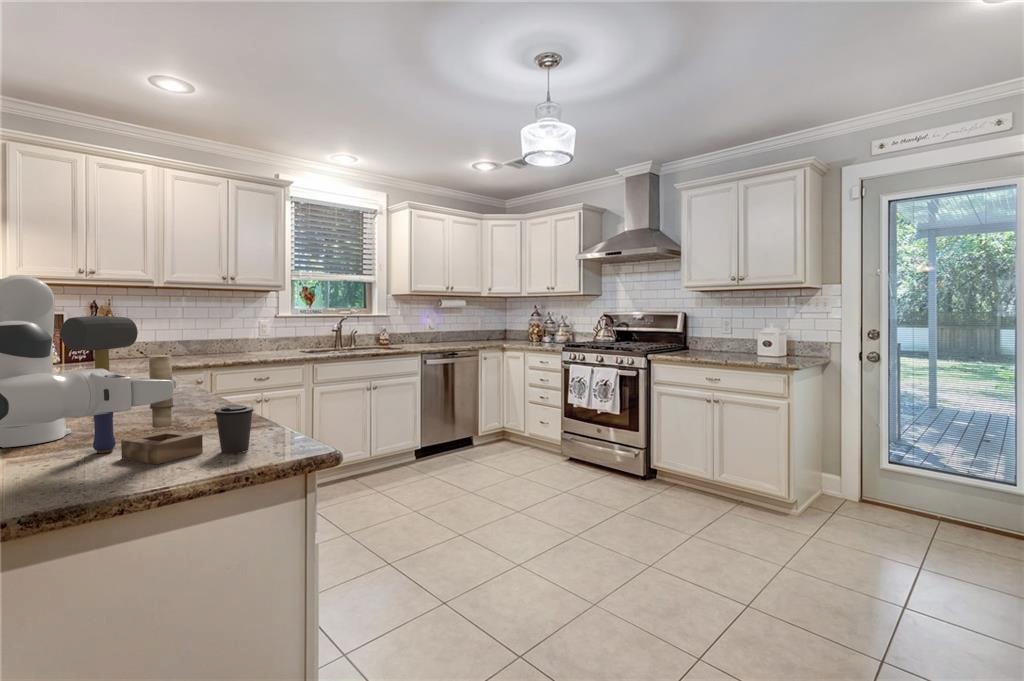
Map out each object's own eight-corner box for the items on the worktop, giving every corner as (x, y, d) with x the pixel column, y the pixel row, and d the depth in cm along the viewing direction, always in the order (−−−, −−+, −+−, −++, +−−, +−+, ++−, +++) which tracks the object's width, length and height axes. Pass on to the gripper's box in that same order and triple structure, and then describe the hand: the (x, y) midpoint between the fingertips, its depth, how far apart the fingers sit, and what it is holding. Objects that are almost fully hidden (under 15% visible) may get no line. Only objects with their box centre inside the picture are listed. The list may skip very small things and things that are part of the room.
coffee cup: (212, 457, 111) (211, 410, 110) (215, 448, 118) (214, 404, 118) (254, 453, 114) (254, 408, 114) (255, 444, 122) (254, 402, 121)
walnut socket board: (121, 458, 109) (121, 440, 109) (168, 447, 118) (168, 430, 118) (157, 464, 105) (156, 445, 105) (202, 452, 114) (202, 434, 114)
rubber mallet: (89, 461, 107) (84, 315, 106) (61, 458, 109) (55, 315, 108) (144, 446, 119) (140, 315, 118) (118, 444, 121) (114, 315, 120)
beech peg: (145, 426, 110) (143, 356, 109) (165, 423, 114) (163, 355, 113) (159, 428, 109) (157, 357, 108) (178, 424, 112) (176, 355, 112)
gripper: (60, 404, 103) (133, 395, 116) (128, 412, 95) (198, 401, 108) (59, 373, 103) (133, 366, 115) (127, 378, 95) (197, 370, 108)
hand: (165, 383), depth 112 cm, fingers closed on beech peg, 4 cm apart
